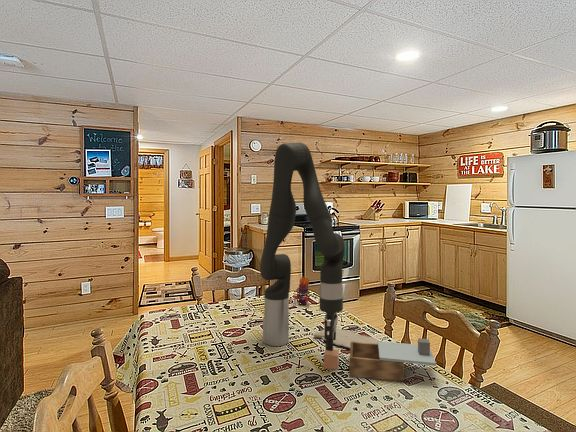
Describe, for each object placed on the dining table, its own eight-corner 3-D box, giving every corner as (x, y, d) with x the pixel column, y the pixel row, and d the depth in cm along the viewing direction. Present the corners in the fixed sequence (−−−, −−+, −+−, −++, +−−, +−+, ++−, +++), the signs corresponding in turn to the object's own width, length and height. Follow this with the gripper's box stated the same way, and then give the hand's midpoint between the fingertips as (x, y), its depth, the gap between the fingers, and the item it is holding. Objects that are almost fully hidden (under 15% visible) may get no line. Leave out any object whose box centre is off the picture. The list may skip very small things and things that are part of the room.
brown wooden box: (349, 376, 108) (349, 357, 107) (350, 358, 119) (350, 341, 119) (403, 382, 104) (404, 363, 104) (399, 363, 116) (399, 345, 116)
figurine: (291, 307, 171) (291, 277, 170) (294, 302, 180) (294, 273, 179) (308, 308, 170) (309, 278, 169) (310, 303, 179) (311, 274, 178)
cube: (323, 368, 113) (323, 354, 113) (325, 361, 117) (325, 348, 117) (337, 369, 112) (337, 356, 112) (338, 362, 116) (338, 349, 116)
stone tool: (311, 341, 135) (371, 358, 119) (311, 331, 135) (371, 347, 119) (329, 331, 145) (386, 346, 130) (329, 322, 145) (386, 336, 130)
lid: (379, 360, 105) (379, 344, 105) (377, 343, 117) (378, 329, 117) (436, 365, 102) (436, 349, 102) (428, 347, 114) (428, 333, 113)
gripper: (341, 302, 105) (340, 355, 106) (344, 290, 119) (344, 337, 119) (316, 300, 107) (316, 353, 107) (322, 289, 120) (322, 335, 121)
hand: (331, 344), depth 113 cm, fingers open, 8 cm apart
